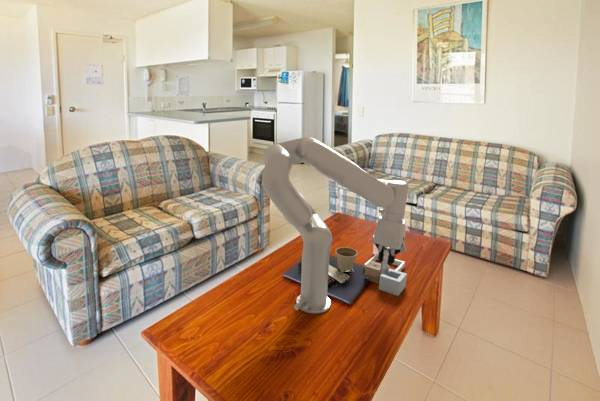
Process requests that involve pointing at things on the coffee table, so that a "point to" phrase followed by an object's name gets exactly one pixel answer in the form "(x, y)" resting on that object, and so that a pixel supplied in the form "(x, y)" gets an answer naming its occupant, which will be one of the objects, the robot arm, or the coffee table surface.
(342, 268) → the flower pot
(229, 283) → the coffee table surface
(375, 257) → the u-shaped frame
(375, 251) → the beverage cup
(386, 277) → the bore block
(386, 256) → the pin
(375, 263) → the walnut block
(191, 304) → the coffee table surface
